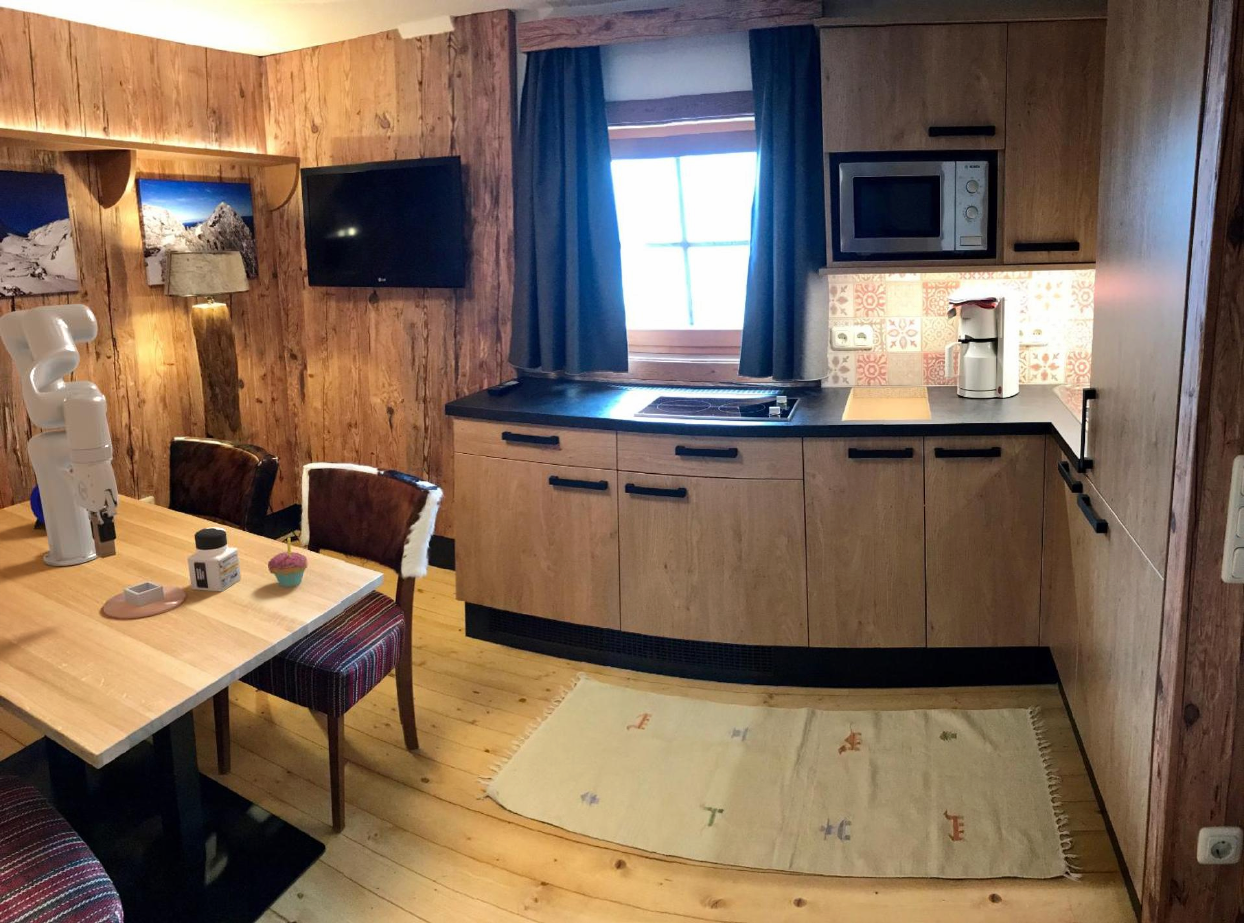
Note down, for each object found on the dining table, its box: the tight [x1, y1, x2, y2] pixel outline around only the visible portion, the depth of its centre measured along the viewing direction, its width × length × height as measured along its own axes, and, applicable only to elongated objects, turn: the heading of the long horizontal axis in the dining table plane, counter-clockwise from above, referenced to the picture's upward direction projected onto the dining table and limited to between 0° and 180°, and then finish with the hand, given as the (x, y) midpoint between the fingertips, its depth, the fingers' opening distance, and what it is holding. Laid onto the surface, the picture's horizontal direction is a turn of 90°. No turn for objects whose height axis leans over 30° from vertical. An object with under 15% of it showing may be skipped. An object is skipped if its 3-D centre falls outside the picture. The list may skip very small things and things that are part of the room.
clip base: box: [103, 580, 186, 620], centre depth 212 cm, size 16×16×4 cm
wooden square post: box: [91, 511, 117, 559], centre depth 207 cm, size 3×3×9 cm
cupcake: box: [267, 534, 309, 588], centre depth 221 cm, size 9×8×12 cm
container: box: [187, 526, 242, 593], centre depth 221 cm, size 8×8×13 cm
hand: (104, 538), depth 207 cm, fingers closed on wooden square post, 2 cm apart
